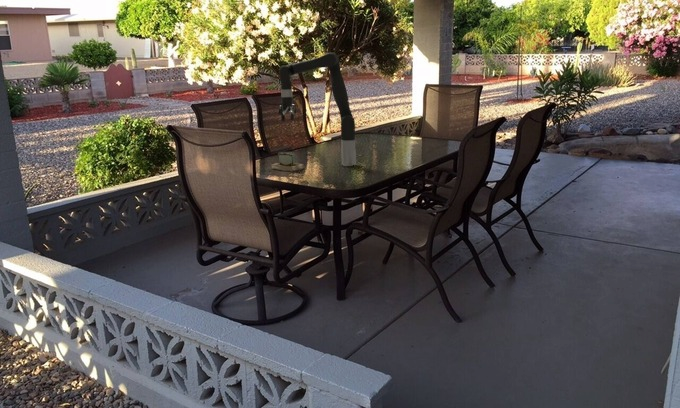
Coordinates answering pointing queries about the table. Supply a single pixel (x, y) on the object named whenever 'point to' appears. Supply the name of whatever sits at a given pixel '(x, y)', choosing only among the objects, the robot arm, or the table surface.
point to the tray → (288, 167)
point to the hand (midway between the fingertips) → (287, 120)
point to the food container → (286, 158)
